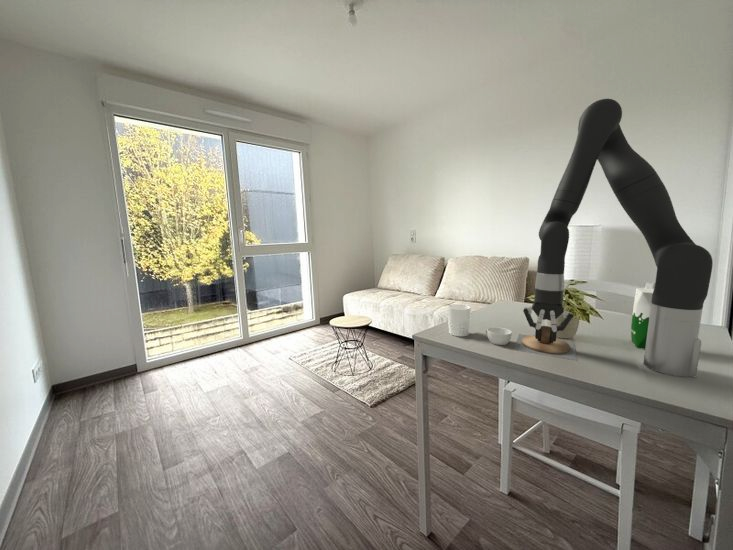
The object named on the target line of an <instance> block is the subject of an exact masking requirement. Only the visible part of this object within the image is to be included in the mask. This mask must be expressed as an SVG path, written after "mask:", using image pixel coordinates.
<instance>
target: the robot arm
mask: <svg viewBox="0 0 733 550" xmlns="http://www.w3.org/2000/svg"><path fill="white" fill-rule="evenodd" d="M622 109H623V108H622V106H621V104H620V103H619V102H618V101H617V100H615V99H612V98H602V99H599V100H596V101H594V102H592V103H591V104H590V105H589V106H587V107H586V108H585V109H584V111H583V112H582V114H581V115H580V118H579V120H578V126H577V136H576V141H575V144H574V147H573V150H572V153H571V155H570V158H569V160H568V163H567V165H566V168H565V170H564V172H563V174H562V176H561V179H560V181H559V183H558V186H557V188H556V191H555V193H554V196H553V198H552V200H551V204H550V206H549V209H548V211H547V213H546V215H545V217H544V219H543V221H542V223H541V226H540V228H539V230H538V238H539V240H540V255H539V256H538V259H537V271H536V276H535V284H534V286H535V287H534V298H533V299H534V300H533V304H532V305H531V306H529V307H524V308H523V310H522V311H523V314H524V315H525V318H526V321H527V323H528V325H529V327H531V328H534V329H535V338H536V339H538V340H537V341H540V334H541V326H542V323H543V321H545V320H547V321H550V323H551V328H552V331H551V343H553V341H554V342H555V341H556V339H557V335H558V334H557V333H558V332H561V331H562V332H563V331H565V329H566V328H567V326H568V325H569V324H570V322H571V320H572V318H573V317H574V314H573V312H571V311H567V310H565V308H564V306H563V303H564V302H563V301H564V290H565V267H566V265H565V264H566V261H565V259H566V255H567V251H568V246H569V241H570V230H569V227H568V226H569V224H570V223H571V220H572V218H573V217H574V215H575V214H576V213H577V211H578V210H579V208H580V206H581V203H582V201H583V199H584V196H585V194H586V191H587V188H588V186H589V184H590V180H591V178H592V174H593V171H594V168H595V166H596V164H597V161H598V164H600V166H601V167H600V168H601V169H602V171H603V174H604V176H605V178H606V180H607V182H608V185H609V186H610V188H611V190H612V192H613V194H614V196H615V197H616V199H617V201H618V202H619V204H620V205H621V207H622V208H623V210H624V211H625V213H626V215H627V216H628V218H630V220H631V221H632V222H633V224H634V225H635V226H636V227H637V228H638V230H639V231H640V233H641V234H642V235H643V237H644V239H645V241H646V243H647V245H648V247H649V250H650V252H651V255H652V257H653V261H654V263H655V266H656V276H655V282H654V288H653V289H654V291H653V294H652V300H651V309H650V317H649V324H648V332H647V340H646V347H645V349H644V355H643V365H644V366H645V367H646V368H648V369H649V370H653V371H654V372H657V373H661V374H664V375H669V376H675V377H692V376H696V377H697V372H698V366H699V360H700V354H701V347H702V339H700V338H699V335H700V334H699V333H700V328H701V327H700V326H701V321H702V316H703V315H702V313H703V307H704V303H705V300H706V299H707V297H708V294H709V288H710V283H711V278H712V271H713V266H714V265H713V257H712V254H711V253H710V252H709V251H708V250H707V249H706V248H705V247H703V246H701V245H698V244H696V243H695V242H694V241H693V240H692V238H691V237H690V236H689V235H688V233H687V232H686V231H685V229H684V228H683V226H682V225H681V224H680V222H679V220H678V218H677V214H676V212H675V211H676V210H675V208H674V206H673V202H672V199H671V197H670V195H669V191H668V189H667V188H666V186H665V184H664V182H663V180H662V179H661V177H660V176H659V174H658V172H657V171H656V170H655V168H654V167H653V166H652V165H651V164H650V163H649V162H648V161H647V160H646V159H645V158H643V157H642V156H641V155H640V154H639V153H638V152H636V150H634V149H633V147H632V146H631V145H630V144H629V142H628V140H627V138H626V136H625V134H624V133H623V130H622V128H621V124H620V123H621V121H622V119H623V118H622V117H623V110H622ZM532 311H533V312H534V313H535V315H536V316H537V320H536V322H534V319H533V317H532V313H533V312H532ZM562 314H563V315H562ZM561 315H562V317H563V320H561V323H560V324H559V325H557V319H558V318H559V317H560V316H561Z"/></svg>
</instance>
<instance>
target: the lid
mask: <svg viewBox="0 0 733 550" xmlns="http://www.w3.org/2000/svg"><path fill="white" fill-rule="evenodd" d="M540 328H541V334H540V341H537V340H538V339H536V338H535V335H529V336H526V337H523V338H522V344H523V345H524V346H525V347H527V348H529V349H532V350H535V351H539V352H543V353H550V354H563V353H567V352H569V351H570V345H569V344H568V343H566V342H564V341H565V340H562V339H559V338H556V341H555V342H554V341H553V343H551V331H552V326H549V325H541V326H540Z"/></svg>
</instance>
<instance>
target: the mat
mask: <svg viewBox="0 0 733 550" xmlns="http://www.w3.org/2000/svg"><path fill="white" fill-rule="evenodd" d="M526 336H530V335H529V334H528V335H527V334H522V333H518V336H517V338H516V342H515V345H514V348H513V350H514V351H520V352H525V353H526V352H527V353H530V354H537V355H543V356H548V357H554V358H560V359H564V360H565V359H566V360H571V361H576V362H577V361H578V357H577V352H576V348H575V347H576V346H575V343H574V341H570V340H569V341H567V340H563V341H564V342H566V343H568V344H569V345H570V351H569V352H567V353H563V354H550V353H543V352H539V351H535V350H532V349H529V348H527V347H525V346H524V345H523V344H522V338H523V337H526Z"/></svg>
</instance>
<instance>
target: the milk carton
mask: <svg viewBox="0 0 733 550" xmlns="http://www.w3.org/2000/svg"><path fill="white" fill-rule="evenodd" d="M653 291H654V288H650V287H649V288H648V287H647V288H643V287H642V288H640V287H636V289H635V295H634V301H633V307H632V315H631V316H632V317H631V324H630V325H631V326H630V333H631V342H632V344H633V345H634V344H635V345H634V346H635V347H636V348H637V349H641V348H645V347H646V340H647V332H648V324H649V317H650V309H651V300H652V294H653Z"/></svg>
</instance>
